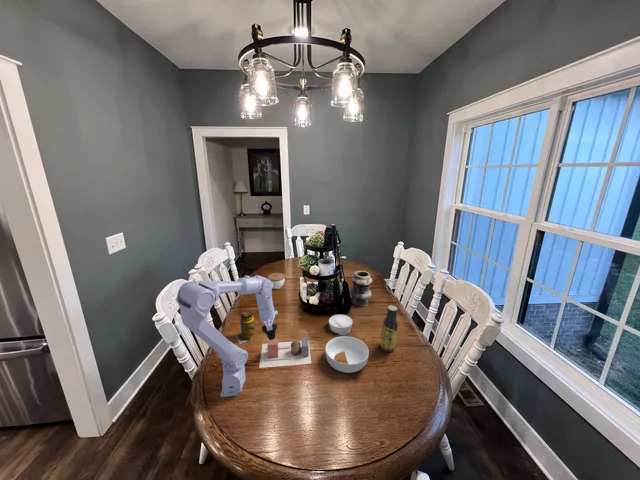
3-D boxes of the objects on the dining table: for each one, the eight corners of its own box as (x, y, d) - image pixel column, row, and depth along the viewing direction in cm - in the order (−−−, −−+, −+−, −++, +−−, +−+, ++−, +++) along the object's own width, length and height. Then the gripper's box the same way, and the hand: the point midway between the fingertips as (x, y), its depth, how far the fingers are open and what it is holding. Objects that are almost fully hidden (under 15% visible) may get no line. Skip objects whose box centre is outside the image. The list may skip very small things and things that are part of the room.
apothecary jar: (371, 308, 143) (373, 278, 139) (349, 306, 145) (350, 277, 140) (370, 297, 155) (372, 270, 150) (350, 296, 157) (351, 268, 152)
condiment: (258, 337, 118) (256, 314, 115) (239, 344, 114) (237, 320, 110) (252, 329, 124) (251, 307, 121) (235, 335, 120) (232, 312, 116)
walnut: (301, 355, 105) (300, 347, 104) (291, 356, 105) (291, 347, 104) (300, 348, 109) (300, 340, 108) (291, 349, 108) (290, 341, 107)
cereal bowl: (373, 358, 106) (374, 344, 104) (358, 387, 92) (359, 371, 90) (336, 344, 114) (337, 330, 112) (317, 369, 100) (317, 353, 98)
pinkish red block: (278, 357, 104) (277, 344, 102) (268, 357, 103) (267, 345, 102) (278, 350, 108) (277, 337, 106) (268, 351, 107) (268, 338, 106)
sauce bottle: (377, 347, 112) (380, 306, 107) (385, 341, 116) (389, 301, 111) (389, 355, 108) (393, 313, 102) (398, 348, 112) (402, 308, 106)
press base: (311, 366, 101) (311, 352, 99) (259, 371, 99) (258, 357, 97) (308, 343, 115) (308, 330, 113) (262, 346, 112) (261, 333, 110)
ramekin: (324, 333, 122) (324, 323, 120) (334, 321, 131) (334, 312, 130) (346, 340, 117) (347, 330, 115) (355, 327, 126) (355, 318, 125)
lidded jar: (266, 285, 170) (265, 272, 168) (282, 282, 175) (281, 269, 172) (270, 292, 161) (270, 278, 159) (287, 288, 165) (286, 275, 163)
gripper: (278, 314, 93) (283, 342, 99) (273, 292, 106) (278, 318, 112) (258, 318, 92) (264, 347, 97) (256, 296, 105) (262, 322, 110)
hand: (271, 332), depth 104 cm, fingers open, 7 cm apart
